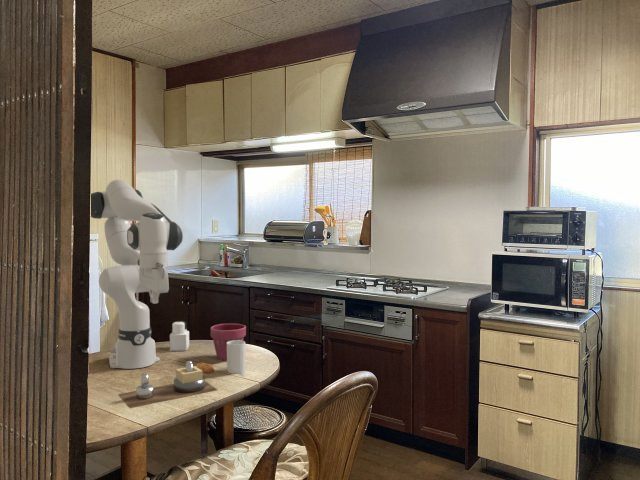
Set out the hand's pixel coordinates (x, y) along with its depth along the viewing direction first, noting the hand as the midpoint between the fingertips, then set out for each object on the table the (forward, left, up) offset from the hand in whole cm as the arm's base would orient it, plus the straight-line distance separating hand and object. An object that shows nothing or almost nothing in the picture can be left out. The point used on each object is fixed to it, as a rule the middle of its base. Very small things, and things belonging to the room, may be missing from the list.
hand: (154, 302), depth 174 cm
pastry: (-5, +20, -30) cm, 36 cm away
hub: (+10, +8, -28) cm, 31 cm away
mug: (+1, +30, -29) cm, 42 cm away
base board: (+10, +1, -29) cm, 31 cm away
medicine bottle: (-44, +24, -29) cm, 58 cm away
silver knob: (+10, -7, -28) cm, 30 cm away
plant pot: (-20, +36, -29) cm, 51 cm away
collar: (+10, +8, -25) cm, 28 cm away
